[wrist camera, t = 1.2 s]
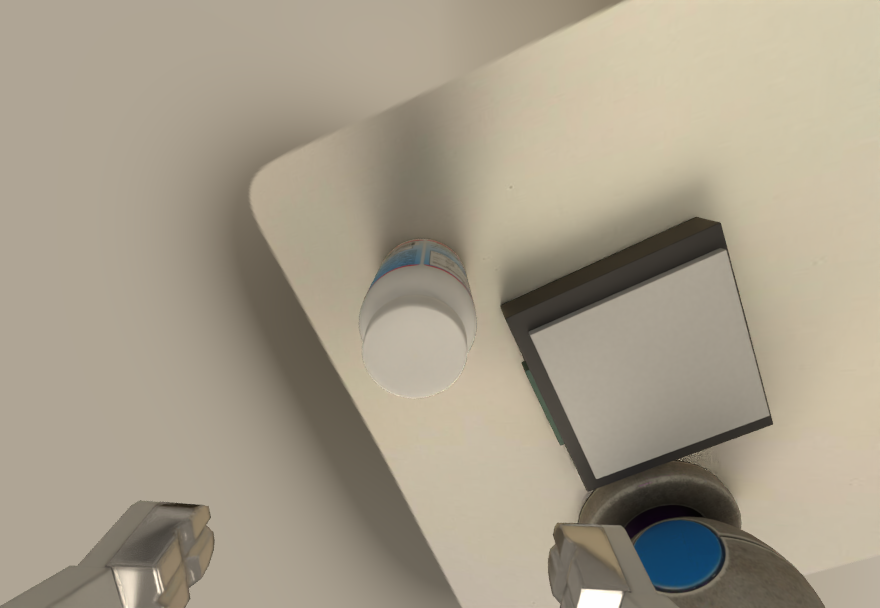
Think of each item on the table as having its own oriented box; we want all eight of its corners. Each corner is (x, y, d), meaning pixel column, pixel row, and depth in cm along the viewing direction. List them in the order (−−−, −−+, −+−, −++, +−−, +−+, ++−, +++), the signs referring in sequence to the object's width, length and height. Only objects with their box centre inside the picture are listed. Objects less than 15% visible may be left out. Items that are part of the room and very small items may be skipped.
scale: (495, 307, 29) (501, 324, 26) (696, 216, 27) (727, 223, 24) (573, 470, 34) (585, 500, 31) (749, 404, 32) (780, 429, 29)
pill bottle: (382, 321, 29) (349, 414, 19) (377, 236, 27) (337, 287, 17) (466, 321, 29) (481, 414, 19) (468, 236, 27) (485, 287, 17)
